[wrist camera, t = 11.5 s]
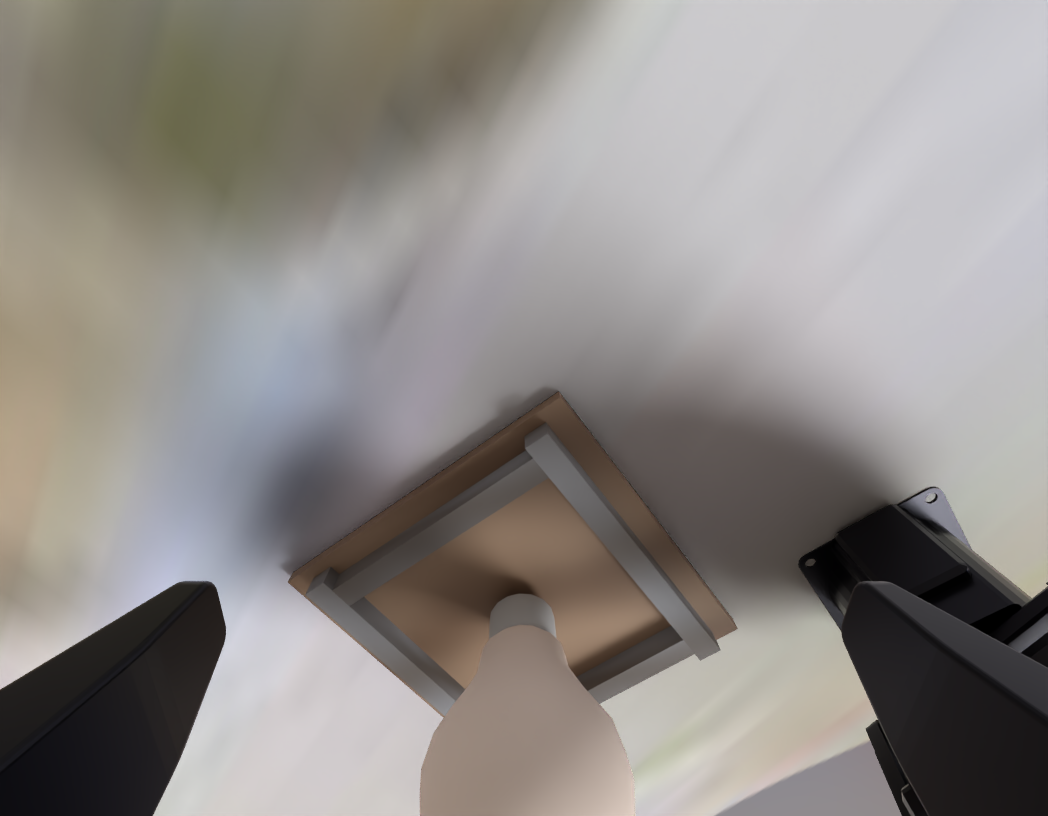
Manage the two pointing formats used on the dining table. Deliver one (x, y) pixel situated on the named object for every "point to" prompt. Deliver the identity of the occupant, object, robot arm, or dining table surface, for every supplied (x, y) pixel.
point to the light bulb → (526, 732)
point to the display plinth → (518, 566)
